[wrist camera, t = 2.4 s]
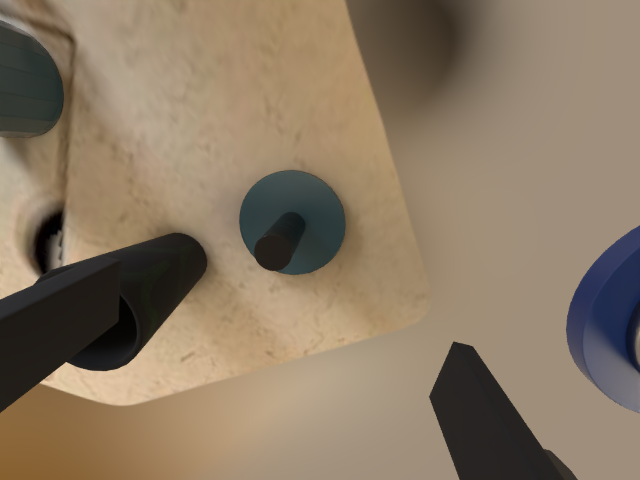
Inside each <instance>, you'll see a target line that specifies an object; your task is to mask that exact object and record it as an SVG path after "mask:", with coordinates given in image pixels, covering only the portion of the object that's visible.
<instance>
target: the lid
mask: <svg viewBox="0 0 640 480" xmlns="http://www.w3.org/2000/svg"><path fill="white" fill-rule="evenodd" d="M239 223H240V230H241V235H242V238H243V240H244V243H245V245H246V247H247V248H248V250H249V251H250V253H251V254H252V255H253V256H254V257H255V258H256V260H257V262H258V263H259V265H260V266H262V267H263V268H265V269H267V270H270V271H276V272H279V273H283V274H290V275H299V274H306V273H310V272H313V271H315V270H317V269H319V268H321V267H323V266H324V265H326V264H327V263H328V262H329V261H330V260H331V259H332V258H333V257H334V256H335V255H336V253H337V252H338V250H339V248H340V246H341V244H342V242H343V238H344V234H345V215H344V211H343V207H342V205H341V203H340V200H339V199H338V197H337V195H336V194H335V192H334V191H333V190H332V189H331V188H330V187H329V186H328V185H327V184H326V183H325V182H324V181H322V180H321V179H319V178H317V177H316V176H314V175H311V174H309V173H305V172H301V171H294V170H291V171H280V172H276V173H273V174H270V175H268V176H266V177H264V178H263V179H261V180H260V181H258V182H257V183H256V184H255V185H254V186H253V187H252V188H251V189H250V190H249V192H248V193H247V195H246V197H245V199H244V201H243V203H242V206H241V210H240V221H239Z"/></svg>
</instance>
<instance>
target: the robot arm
mask: <svg viewBox="0 0 640 480" xmlns="http://www.w3.org/2000/svg"><path fill="white" fill-rule="evenodd" d="M120 268H121V260H117V259H113V258H109V257H105V256H99V257H97V258H94V259H92V260H90V261H87V262H85V263H83V264H81V265H78V266H76V267H74V268H71V269H69V270H67V271H65V272H62V273H60V274H58V275H55V276H53V277H51V278H49V279H46V280H44V281H42V282H39V283H37V284H35V285H33V286H30V287H28V288H26V289H23V290H21V291H19V292H17V293H14V294H12V295H10V296H7V297H5V298H3V299H1V300H0V413H1V412H2V411H3V410H4V409H6V408H7V407H8V406H10V405H11V404H12V403H14V402H15V401H16V400H17V399H19V398H20V397H21V396H23V395H24V394H25V393H26V392H28V391H29V390H30V389H32V388H33V387H34V386H36V385H37V384H38V383H39V382H41V381H42V380H43V379H45V378H46V377H47V376H49V375H50V374H51V373H52V372H54V371H55V370H56V369H58V368H59V367H60V366H62V365H63V364H64V363H65V362H67V361H68V360H69V359H71V358H72V357H73V356H74V355H76V354H77V353H78V352H80V351H81V350H82V349H84V348H85V347H86V346H87V345H89V344H90V343H91V342H93V341H94V340H95V339H97V338H98V337H99V336H100V335H102V334H103V333H104V332H106V331H107V330H108V329H109V328H111V327H112V326H113V325H115V324H116V323H117V322H119V295H120ZM626 349H627V353H628V356H629V358H630V361H631V362H632V364H633V365H634V367H635V368H636V369H637V370H638V371H639V372H640V301H639V302H638V304H637V305H636V307H635V309H634V311H633V313H632V315H631V317H630V319H629V322H628V326H627V330H626ZM429 398H430V400H431V403H432V406H433V409H434V411H435V414H436V416H437V419H438V422H439V425H440V428H441V430H442V433H443V436H444V438H445V441H446V444H447V447H448V449H449V452H450V455H451V457H452V460H453V463H454V466H455V468H456V471H457V474H458V476H459V479H460V480H577V478H576V477H575V475H574V474H573V473H572V471H571V470H570V469H569V468H568V467H567V466H566V465H564V464H563V462H562V461H561V460H559V458H558V457H556V456H555V454H553V453H552V452H551V451H550V450H546V449H543V448H542V446H541V445H540V443H539V442H538V441H537V439H536V438H535V436H534V435H533V433H532V432H531V430H530V429H529V428H528V426H527V425H526V423H525V422H524V420H523V419H522V417H521V416H520V414H519V413H518V411H517V410H516V409H515V407H514V406H513V404H512V403H511V401H510V400H509V398H508V397H507V395H506V394H505V393H504V391H503V390H502V388H501V387H500V385H499V384H498V382H497V381H496V380H495V378H494V377H493V375H492V374H491V372H490V371H489V369H488V368H487V366H486V365H485V364H484V362H483V361H482V359H481V358H480V356H479V355H478V353H477V352H476V350H475V349H474V348H473V347H472V346H470V345H466V344H462V343H457V342H453V344H452V346H451V349H450V350H449V353H448V355H447V357H446V360H445V362H444V364H443V367H442V369H441V371H440V373H439V375H438V378H437V380H436V382H435V384H434V387H433V389H432V392H431V394H430V396H429Z"/></svg>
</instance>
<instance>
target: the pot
mask: <svg viewBox="0 0 640 480" xmlns="http://www.w3.org/2000/svg"><path fill="white" fill-rule="evenodd" d="M62 106H63V88H62V83H61V79H60V75H59V73H58V70H57V68H56V66H55V64H54V62H53V60H52V58H51V57H50V55H49V54H48V53H47V51H46V50H45V49H44V48H43V46H42V45H41V44H40V43H39V42H38V41H37V40H35V39H34V38H33V37H32V36H30V35H29V34H28V33H26V32H24V31H22V30H21V29H18V28H16V27H14V26H13V25H11V24H8V23H6V22H3V21H1V20H0V137H17V138H25V137H34V136H39V135H41V134H44V133H45V132H47V131H48V130H50V129H51V128H52V127H53V126H54V125H55V123H56V122H57V120H58V118H59V116H60V114H61V110H62Z"/></svg>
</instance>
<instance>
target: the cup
mask: <svg viewBox="0 0 640 480" xmlns="http://www.w3.org/2000/svg"><path fill="white" fill-rule="evenodd" d="M99 256H105V257H109V258H113V259H117V260H121V268H120V295H119V322H117V323H116V324H115V325H113V326H112V327H111V328H109V329H108V330H107V331H106V332H104V333H103V334H102V335H100V336H99V337H98V338H97V339H95V340H94V341H93V342H91V343H90V344H89V345H87V346H86V347H85V348H84V349H82V350H81V351H80V352H78V353H77V354H76V355H74V356H73V357H72V358H71V359H69V360H68V361H67V363H70V364H72V365H74V366H76V367H79V368H83V369H87V370H92V371H108V370H114V369H118V368H120V367H122V366H124V365H127V364H128V363H129V362H130V361H131V360H132V359H134V358H135V357H136V356H137V354H138V353H139V352H140V351H141V349H142V348H143V347H144V346H145V345H146V343H147V342H148V341H149V340H150V339H151V337H152V336H153V335H154V334H155V333H156V331H157V330H158V329H159V328H160V326H161V325H162V324H163V323H164V322H165V320H166V319H167V318H168V317H169V316H170V314H171V313H172V312H173V311H174V310H175V308H176V307H177V306H178V305H179V304H180V302H181V301H182V300H183V299H184V297H185V296H186V295H187V294H188V293H189V291H190V290H191V289H192V288H193V287H194V285H195V284H196V283H197V282H198V281H199V279H200V278H201V277H202V276H203V274H204V272H205V270H206V267H207V258H206V254H205V251H204V249H203V248H202V246H201V245H200V244H199V243H198V242H197V241H196V240H195V239H194V238H192V237H190V236H188V235H185V234H181V233H172V234H168V235H165V236H161V237H158V238H155V239H152V240H148V241H145V242H142V243H139V244H135V245H132V246H129V247H125V248H122V249H119V250H116V251H112V252H109V253H106V254H102V255H99ZM99 256H96V257H93V258H89V259H86V260H83V261H79V262H76V263H73V264H70V265H66V266H63V267H60V268H56V269H53V270H51V271H49V272H47V273H46V274H44V275H42V276H41V277H40V278H39V279H38V280H37V281H36V283H35V284H37V283H39V282H42V281H44V280H46V279H49V278H51V277H53V276H55V275H58V274H60V273H62V272H65V271H67V270H69V269H71V268H74V267H76V266H78V265H81V264H83V263H85V262H87V261H90V260H92V259H94V258H97V257H99ZM35 284H34V285H35Z"/></svg>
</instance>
